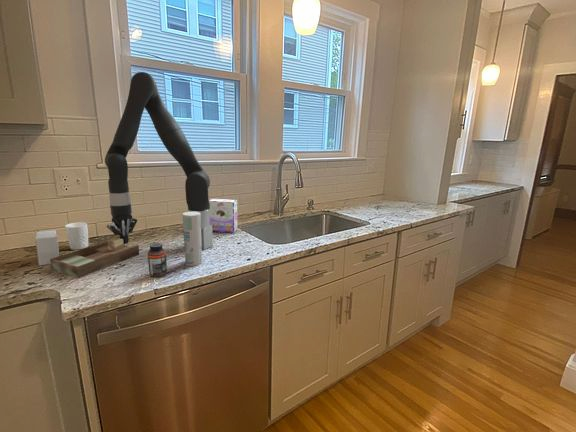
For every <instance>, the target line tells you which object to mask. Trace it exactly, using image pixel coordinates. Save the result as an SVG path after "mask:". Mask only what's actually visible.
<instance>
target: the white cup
mask: <svg viewBox="0 0 576 432" xmlns="http://www.w3.org/2000/svg"><path fill="white" fill-rule="evenodd" d="M88 228H89V227H88V223H87V222H85V221H84V222H83V221H81V222H80V221H78V222H71V223H67V224H65V226H64V229H65V233H66V237H67V242H68V245H69V248H70V250H75V251H77V250H81V249H84V248H87V247H90V246H89V244H90V243H89V230H88Z"/></svg>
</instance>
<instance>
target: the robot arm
mask: <svg viewBox="0 0 576 432" xmlns="http://www.w3.org/2000/svg"><path fill="white" fill-rule="evenodd" d="M129 84H130V85H129V91H128V95H127V96H128V97H127V101H126V105H125V107H124V110H123V112H122V116H121V118H120V121H119V123H118V126H117V129H116V131H115V133H114V136H113V140H112V142H111V144H110V146H109V148H108V150H107V152H106V154H105V158H104V165H105V166H106V167H107V171H108V179H107V180H108V181H107V183H108V193H109V196H108V197H109V207H110V214H111V216H112V217H111V222H110V224H107V225H106V228H107V229H109V231H110V232H111V233H113V234H114V235H115V236H119V238H120V239H123V243H124V245H126V244H129V234H130V233H132V232H133V231H134V228H135V227H136V225H137V222H138V219H137V218H134V217H133V215H132V212H133V211H132V209H133V208H132V202H131V193H130V188H129V181H128V179H129V178H128V177H129V167H128V161H127V156H128V154H129V151H131V149H132V148H133V146H134V143H135V141H136V139H137V135H138V133H139V130H140V129H139V128H140V125H141V121H142V117H143V113H144V110H146V113H147V114H148V115H149V117H150V119H151V122H152V125H153V127H154V129H155V131H156V133H157V135H158V137H159V139H160V140H161V142H162V144H163V146H164V148H166V150H167V152H168V153H169V154H170V155H171V156H172V158H173V159H175V161H177V163H178V164H179V166H180V168H182V171H183V172H184V174H185V176H186V179H185V187H184V189H185V201H186V206H187V212H200V214H201V246H202V251H203V250H204V251H205V250H207V249H209V248H211V247H213V246H214V241H213V239H214V238H213V237H214V236H213V231H212V226H211V225H210V203H209V200H210V199H209V188H210V186H211V185H210V184H211V180H210V177H209V175H208V174H207V172H206V171H205V169H204V168H203V166H202V165H201V163H199V161H198V159H197V157H196V155H195V153H194V151H193V149H192V147H191V144H190V143H189V141H188V140H187V137H186V135H185V133H184V132H183V130H182V128H181V126H180V125H179V123H178V122H177V120H176V119H175V117H174V116H173V115H172V114H171V112H170V111H169V110H168V108H167V107H166V106H165V103H164V101H163V99H162V97H161V94H160V93H159V90H158V87H157V82H156V80H155V79H154V77H153V76H152V75H151V74H149V73H148V72H144V71H139V72H136V73H134V74H133V76H132V77H131V80H130V83H129Z"/></svg>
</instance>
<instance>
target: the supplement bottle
mask: <svg viewBox="0 0 576 432" xmlns="http://www.w3.org/2000/svg"><path fill="white" fill-rule="evenodd" d="M147 262H148V263H147V265H148V272H149V276H150V277H152V278H160V277H164V276H165V275H166V274H167V273H168V266H167V253H166V249H164V247H163V243H161V242H154V243H151V244H149V250H148V251H147Z"/></svg>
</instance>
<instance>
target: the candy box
mask: <svg viewBox="0 0 576 432" xmlns="http://www.w3.org/2000/svg"><path fill="white" fill-rule="evenodd" d="M209 203H210V225H211V226H212V232H217V233H219V232H220V233H231V234H232V233H233V234H234V233H236V232H237V231H238V200H237V199H225V198H224V199H223V198H210V199H209Z"/></svg>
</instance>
